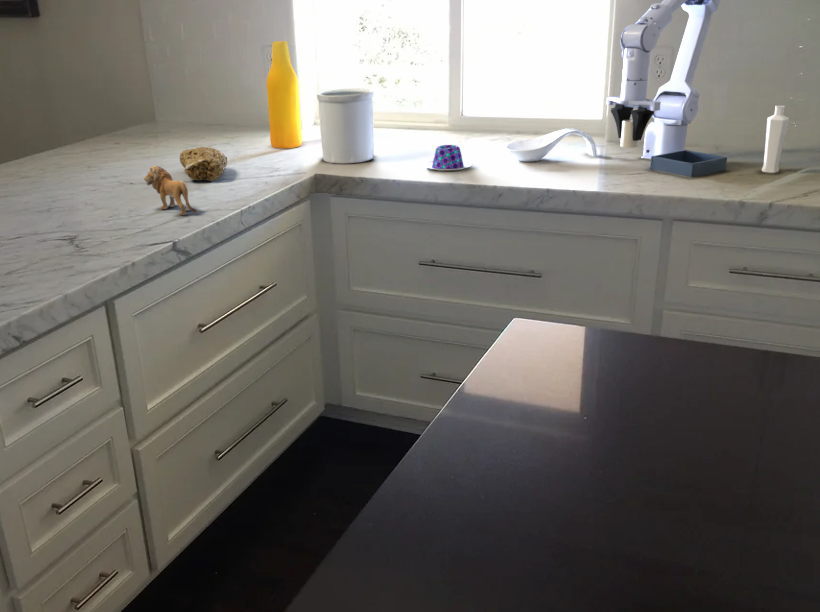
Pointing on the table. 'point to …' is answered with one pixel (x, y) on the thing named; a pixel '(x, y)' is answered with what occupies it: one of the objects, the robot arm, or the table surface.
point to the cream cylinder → (627, 134)
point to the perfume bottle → (774, 139)
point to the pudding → (447, 159)
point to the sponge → (203, 163)
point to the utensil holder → (346, 125)
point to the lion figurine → (168, 188)
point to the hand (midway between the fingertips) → (629, 139)
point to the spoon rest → (545, 145)
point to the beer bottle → (283, 99)
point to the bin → (688, 163)
